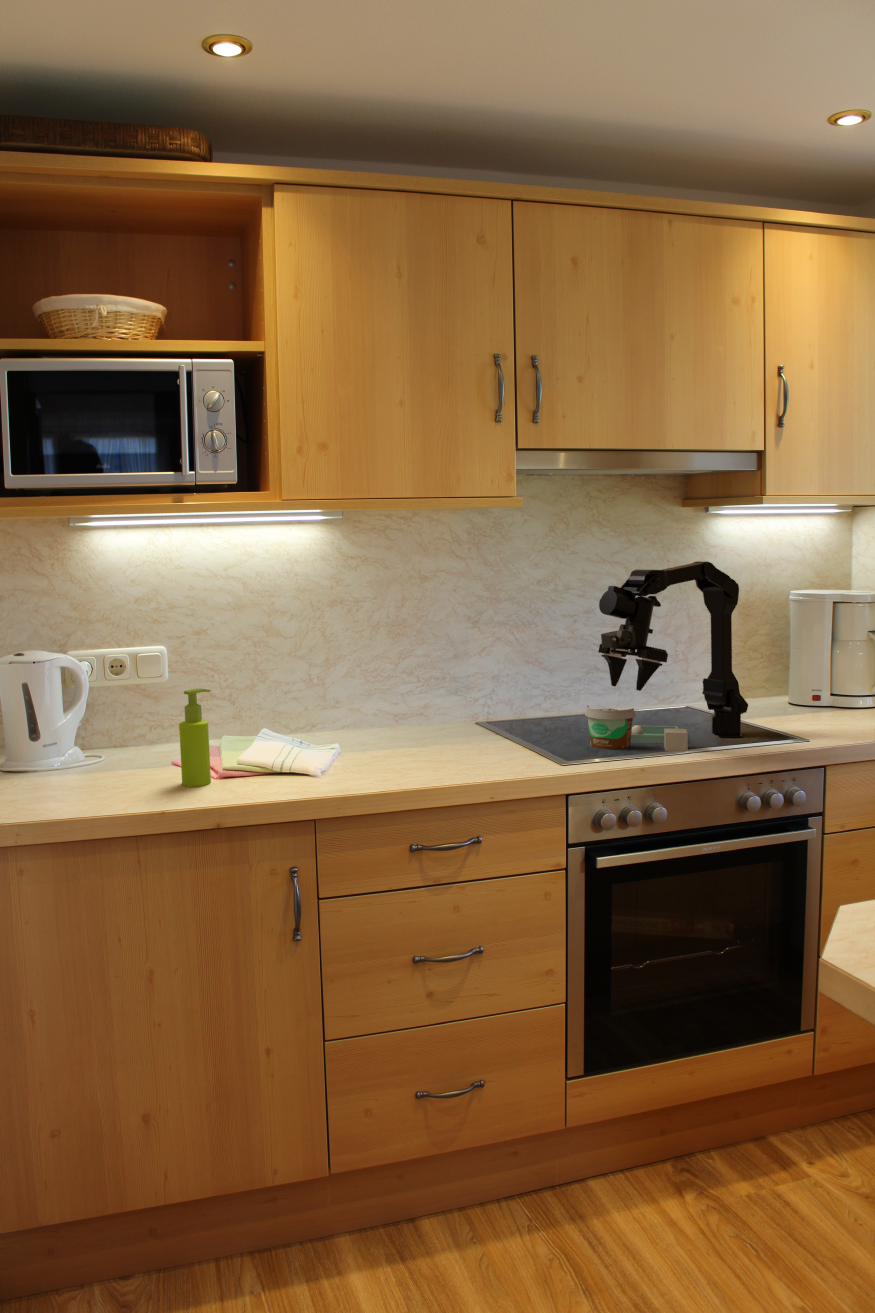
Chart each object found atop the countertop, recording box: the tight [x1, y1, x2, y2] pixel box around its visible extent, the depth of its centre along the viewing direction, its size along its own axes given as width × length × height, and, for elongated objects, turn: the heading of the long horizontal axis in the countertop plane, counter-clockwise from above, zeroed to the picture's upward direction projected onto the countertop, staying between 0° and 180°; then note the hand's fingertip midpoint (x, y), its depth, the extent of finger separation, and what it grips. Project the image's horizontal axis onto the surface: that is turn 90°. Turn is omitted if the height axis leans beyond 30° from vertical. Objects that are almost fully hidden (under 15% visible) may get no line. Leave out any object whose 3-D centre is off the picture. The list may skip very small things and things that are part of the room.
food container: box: [584, 705, 637, 750], centre depth 222 cm, size 12×6×10 cm, turn 62°
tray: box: [630, 725, 679, 744], centre depth 232 cm, size 13×12×2 cm
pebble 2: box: [632, 728, 643, 735], centre depth 230 cm, size 3×3×3 cm
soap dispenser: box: [178, 688, 212, 788], centre depth 196 cm, size 6×7×20 cm
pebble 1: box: [631, 724, 643, 732], centre depth 234 cm, size 3×3×3 cm
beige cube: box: [663, 728, 689, 752], centre depth 219 cm, size 5×5×5 cm
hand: (625, 688), depth 218 cm, fingers open, 9 cm apart
